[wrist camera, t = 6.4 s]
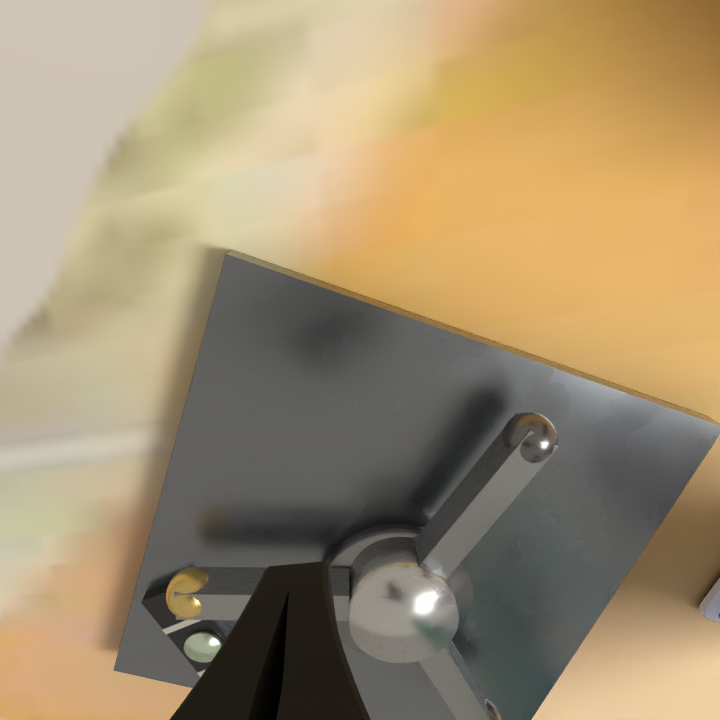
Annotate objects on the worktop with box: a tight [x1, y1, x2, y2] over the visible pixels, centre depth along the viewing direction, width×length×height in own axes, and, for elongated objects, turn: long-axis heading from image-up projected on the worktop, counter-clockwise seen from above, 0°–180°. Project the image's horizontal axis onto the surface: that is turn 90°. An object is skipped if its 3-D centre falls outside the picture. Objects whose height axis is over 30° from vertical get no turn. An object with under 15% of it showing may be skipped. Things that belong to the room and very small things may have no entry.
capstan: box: [166, 412, 558, 720], centre depth 20 cm, size 16×14×3 cm
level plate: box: [114, 250, 720, 720], centre depth 21 cm, size 20×20×2 cm
